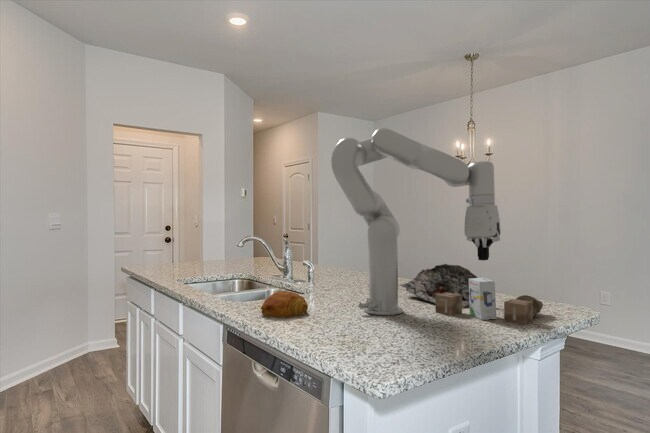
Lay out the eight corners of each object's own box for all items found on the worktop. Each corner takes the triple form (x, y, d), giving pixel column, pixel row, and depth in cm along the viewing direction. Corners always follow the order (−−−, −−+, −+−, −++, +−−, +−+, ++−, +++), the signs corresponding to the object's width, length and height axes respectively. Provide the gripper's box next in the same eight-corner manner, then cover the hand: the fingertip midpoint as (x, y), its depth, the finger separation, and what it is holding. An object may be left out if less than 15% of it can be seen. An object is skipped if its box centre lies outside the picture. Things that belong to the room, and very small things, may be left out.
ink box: (496, 320, 126) (496, 281, 126) (480, 320, 126) (480, 281, 126) (483, 313, 135) (483, 277, 135) (468, 313, 135) (467, 277, 135)
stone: (513, 303, 141) (528, 287, 137) (533, 321, 136) (549, 304, 133) (499, 310, 131) (515, 292, 128) (519, 329, 127) (537, 311, 124)
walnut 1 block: (525, 325, 120) (524, 304, 120) (504, 321, 124) (504, 301, 125) (532, 321, 124) (532, 301, 124) (512, 318, 129) (512, 298, 129)
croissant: (280, 313, 147) (278, 290, 148) (315, 312, 138) (313, 288, 139) (250, 320, 135) (248, 295, 136) (286, 320, 126) (284, 293, 127)
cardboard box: (451, 316, 132) (451, 296, 132) (435, 312, 137) (435, 294, 137) (462, 313, 136) (462, 294, 136) (446, 310, 141) (446, 292, 141)
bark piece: (493, 290, 149) (433, 268, 175) (485, 273, 146) (425, 253, 171) (460, 327, 144) (404, 298, 169) (451, 310, 140) (395, 284, 166)
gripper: (454, 202, 134) (455, 259, 134) (498, 200, 122) (500, 262, 122) (467, 202, 139) (468, 257, 139) (511, 200, 127) (512, 260, 127)
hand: (483, 259), depth 130 cm, fingers closed
